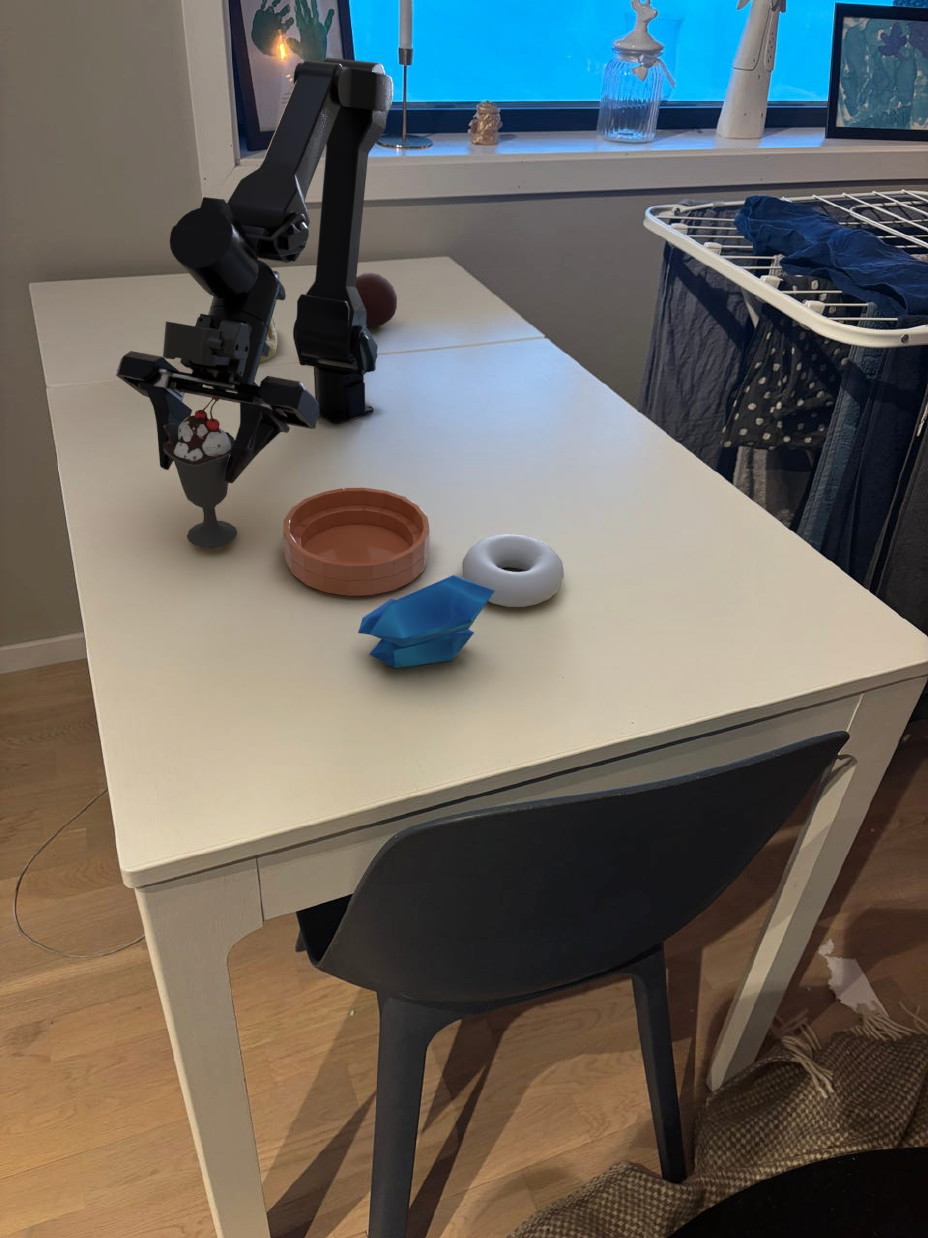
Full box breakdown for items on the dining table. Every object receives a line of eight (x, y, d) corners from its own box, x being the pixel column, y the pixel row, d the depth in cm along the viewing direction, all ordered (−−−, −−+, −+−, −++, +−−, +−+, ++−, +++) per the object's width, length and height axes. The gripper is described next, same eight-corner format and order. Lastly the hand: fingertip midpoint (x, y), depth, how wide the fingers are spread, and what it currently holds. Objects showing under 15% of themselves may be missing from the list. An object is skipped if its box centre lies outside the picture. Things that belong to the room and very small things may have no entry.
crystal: (339, 581, 79) (472, 536, 81) (364, 653, 85) (486, 610, 87) (360, 634, 74) (501, 585, 75) (384, 707, 79) (515, 660, 81)
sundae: (259, 536, 94) (245, 399, 85) (202, 561, 91) (180, 420, 81) (222, 509, 98) (205, 375, 89) (165, 532, 94) (141, 394, 85)
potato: (337, 332, 141) (336, 280, 136) (353, 311, 148) (352, 261, 144) (389, 338, 140) (390, 286, 136) (403, 317, 148) (404, 267, 143)
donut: (443, 569, 94) (491, 624, 87) (444, 540, 92) (493, 594, 85) (529, 548, 98) (581, 599, 91) (532, 519, 95) (586, 569, 88)
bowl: (258, 551, 94) (254, 517, 92) (368, 506, 102) (368, 473, 100) (344, 618, 86) (342, 583, 84) (456, 564, 94) (458, 530, 92)
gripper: (108, 264, 84) (59, 429, 82) (299, 295, 80) (252, 468, 79) (167, 320, 95) (125, 466, 93) (338, 350, 91) (297, 502, 90)
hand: (195, 475), depth 88 cm, fingers closed on sundae, 6 cm apart
